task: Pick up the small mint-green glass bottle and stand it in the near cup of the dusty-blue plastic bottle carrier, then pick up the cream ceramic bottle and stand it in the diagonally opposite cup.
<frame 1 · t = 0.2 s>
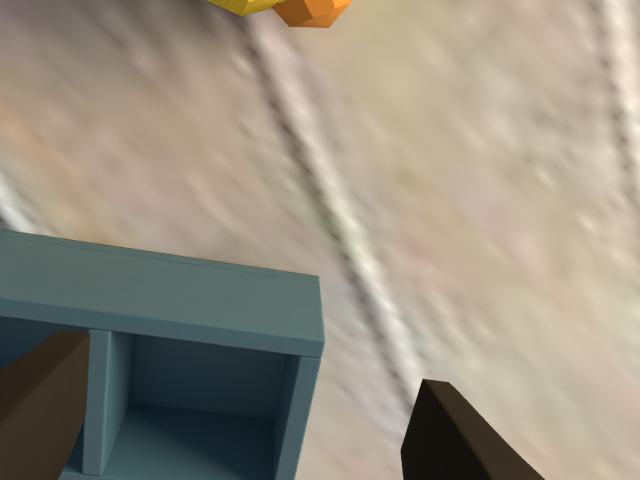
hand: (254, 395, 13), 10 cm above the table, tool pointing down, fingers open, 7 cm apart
carrier: (125, 398, 25), on the table
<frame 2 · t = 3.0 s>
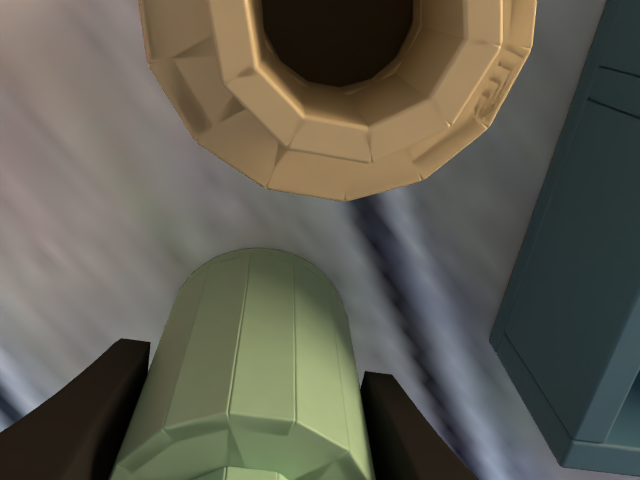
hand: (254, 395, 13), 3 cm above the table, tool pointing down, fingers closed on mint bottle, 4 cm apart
mint bottle: (259, 327, 15), on the table, touching gripper
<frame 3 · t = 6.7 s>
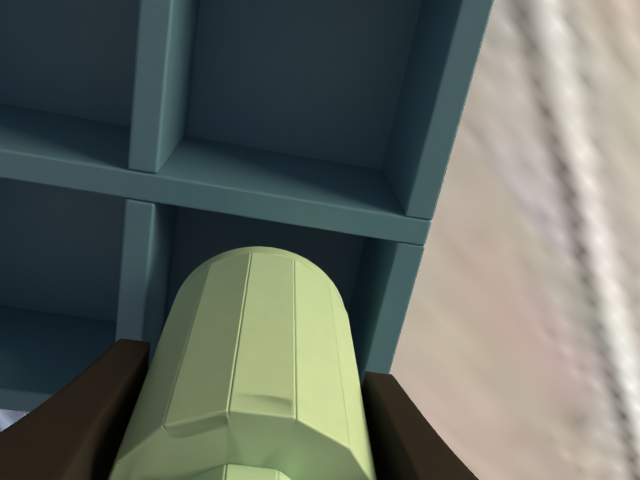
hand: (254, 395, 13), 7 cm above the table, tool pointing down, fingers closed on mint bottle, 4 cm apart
mint bottle: (259, 325, 15), point 5 cm above the table, touching gripper
carrier: (176, 140, 18), on the table
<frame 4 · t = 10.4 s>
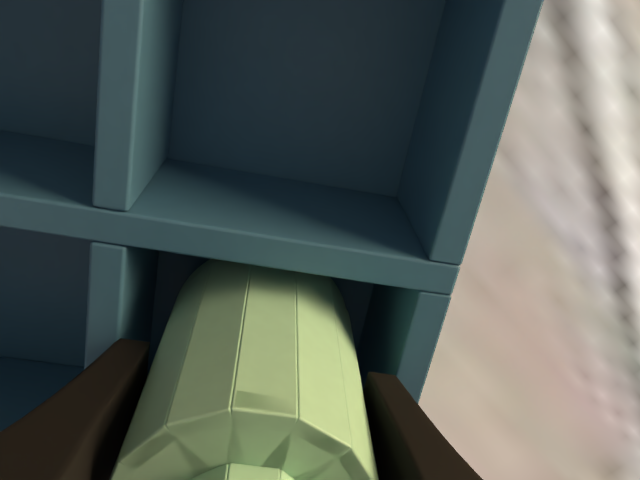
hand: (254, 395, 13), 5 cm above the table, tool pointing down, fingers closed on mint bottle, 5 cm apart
mint bottle: (260, 324, 15), point 2 cm above the table, touching gripper
carrier: (158, 162, 16), on the table
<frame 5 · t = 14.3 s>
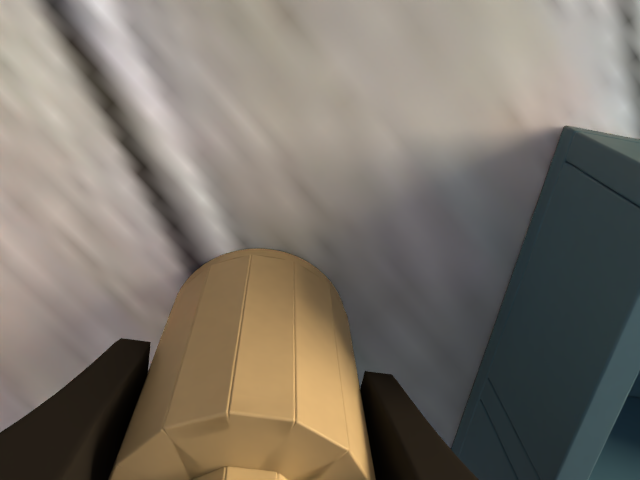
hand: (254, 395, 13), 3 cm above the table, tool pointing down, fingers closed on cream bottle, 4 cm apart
cream bottle: (259, 327, 15), on the table, touching gripper
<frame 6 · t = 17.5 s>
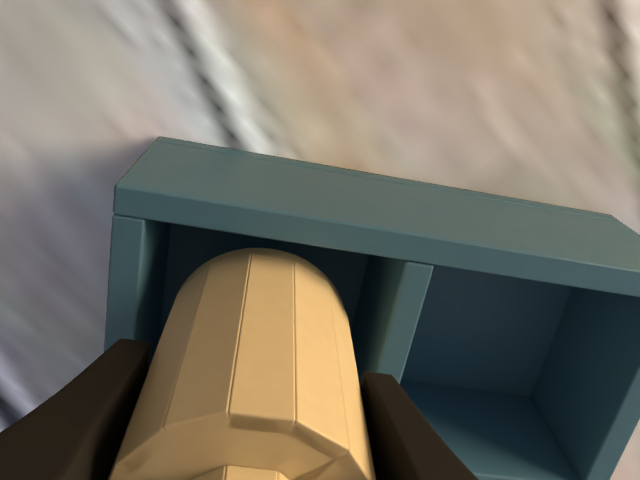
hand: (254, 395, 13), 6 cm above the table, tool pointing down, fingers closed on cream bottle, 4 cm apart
carrier: (347, 370, 20), on the table
cream bottle: (259, 326, 15), point 3 cm above the table, touching gripper
when the fingers open (5 cm above the table, at t = 21.0 s): cream bottle drops 2 cm, resting on carrier.
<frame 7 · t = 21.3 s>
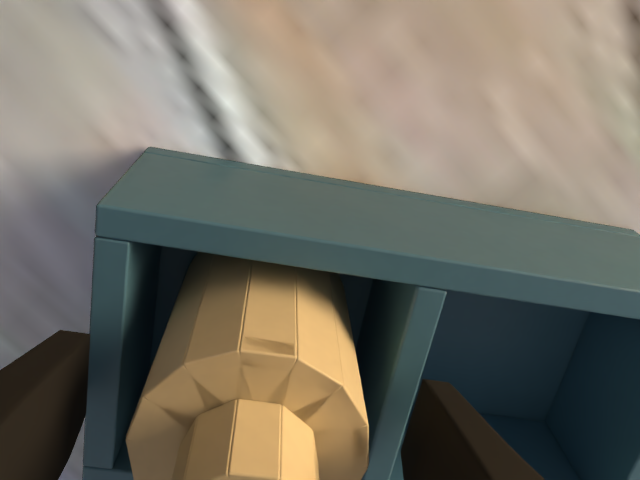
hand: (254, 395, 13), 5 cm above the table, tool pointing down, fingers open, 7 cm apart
carrier: (350, 393, 19), on the table
cream bottle: (263, 296, 17), point 1 cm above the table, touching carrier
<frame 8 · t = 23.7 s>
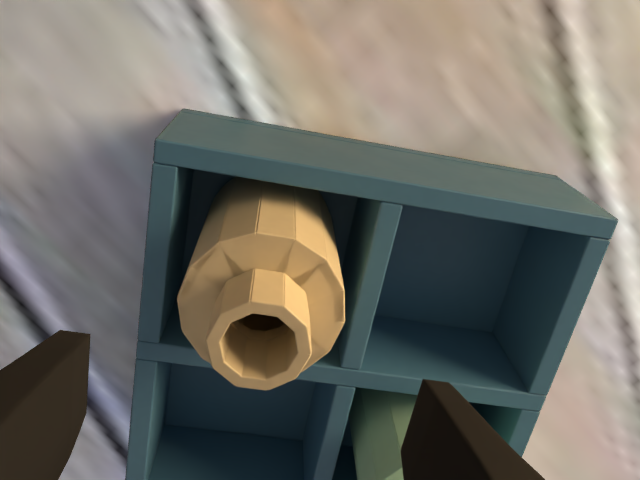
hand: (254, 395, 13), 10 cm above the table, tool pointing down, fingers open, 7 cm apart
mint bottle: (400, 394, 25), point 1 cm above the table, touching carrier
carrier: (338, 309, 24), on the table
cream bottle: (269, 226, 22), point 1 cm above the table, touching carrier
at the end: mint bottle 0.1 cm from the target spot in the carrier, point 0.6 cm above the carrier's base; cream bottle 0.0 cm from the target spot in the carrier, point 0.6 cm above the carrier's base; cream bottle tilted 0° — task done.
